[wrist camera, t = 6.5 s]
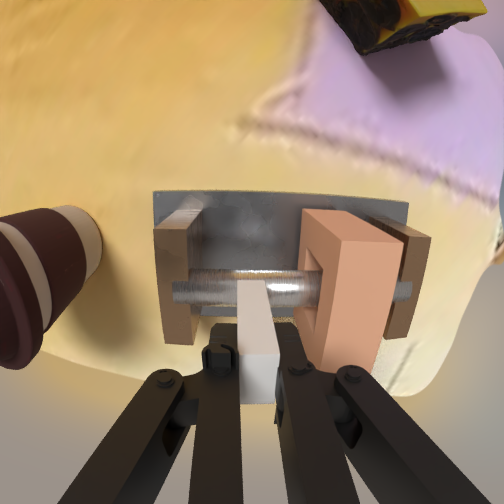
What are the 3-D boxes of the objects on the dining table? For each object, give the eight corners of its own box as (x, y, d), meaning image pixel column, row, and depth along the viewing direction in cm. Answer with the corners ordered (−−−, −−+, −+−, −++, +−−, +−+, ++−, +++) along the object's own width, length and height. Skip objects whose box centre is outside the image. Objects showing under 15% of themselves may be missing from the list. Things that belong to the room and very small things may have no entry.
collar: (293, 313, 24) (316, 386, 16) (302, 208, 21) (341, 240, 13) (331, 312, 24) (367, 380, 16) (345, 210, 22) (403, 243, 13)
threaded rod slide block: (163, 309, 26) (140, 361, 18) (155, 190, 22) (117, 205, 15) (385, 308, 27) (422, 352, 19) (404, 201, 23) (457, 219, 16)
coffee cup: (76, 305, 26) (-4, 398, 11) (24, 232, 23) (-79, 287, 9) (136, 253, 24) (42, 355, 10) (76, 168, 21) (-55, 193, 7)
